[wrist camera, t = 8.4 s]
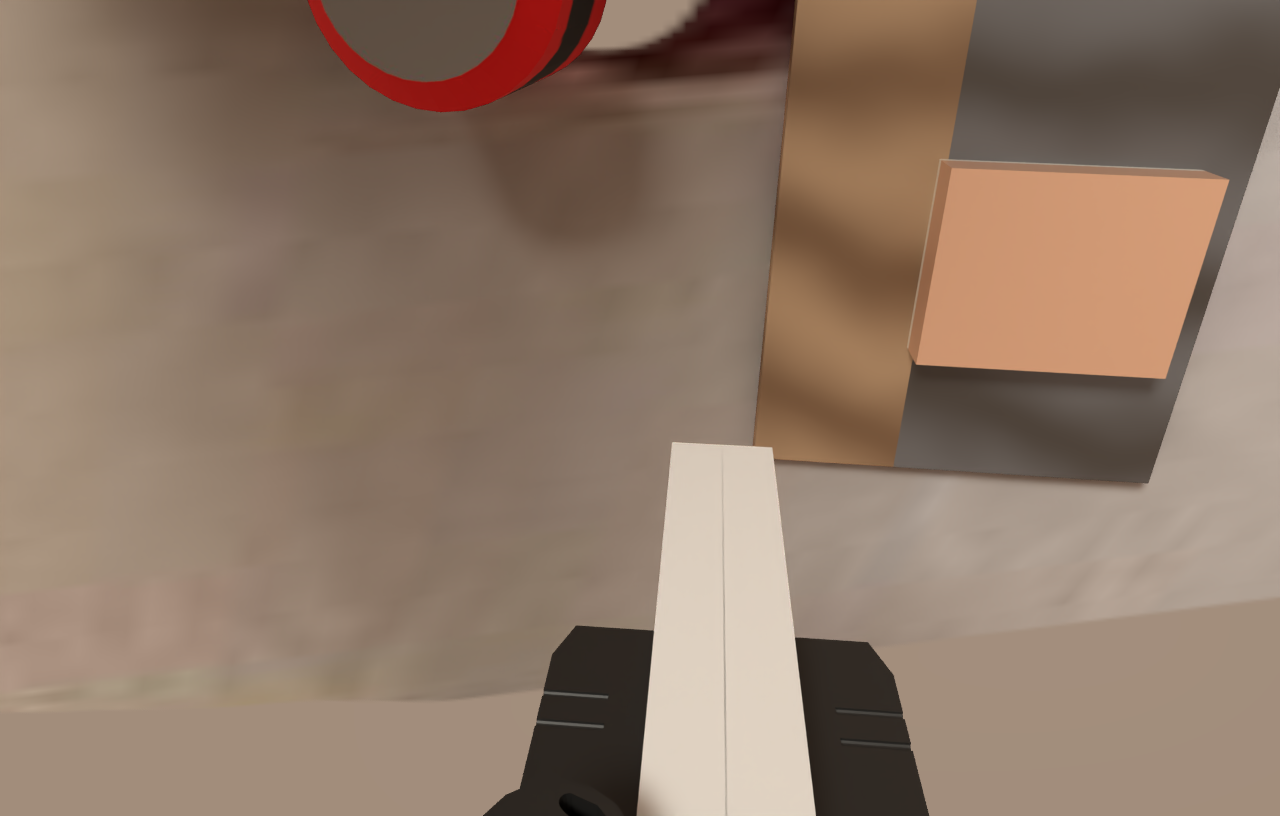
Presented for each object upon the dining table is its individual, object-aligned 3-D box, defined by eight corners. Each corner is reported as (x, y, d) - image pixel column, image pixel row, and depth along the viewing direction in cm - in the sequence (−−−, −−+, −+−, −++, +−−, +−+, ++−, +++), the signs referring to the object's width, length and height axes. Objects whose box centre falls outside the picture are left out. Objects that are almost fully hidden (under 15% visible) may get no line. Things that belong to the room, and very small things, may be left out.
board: (796, -14, 33) (799, -15, 32) (1288, -1, 32) (1308, -1, 30) (752, 445, 41) (753, 457, 40) (1136, 470, 40) (1148, 483, 39)
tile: (951, 168, 32) (1229, 179, 31) (939, 159, 34) (1202, 169, 33) (916, 364, 36) (1165, 378, 35) (906, 346, 37) (1143, 359, 37)
